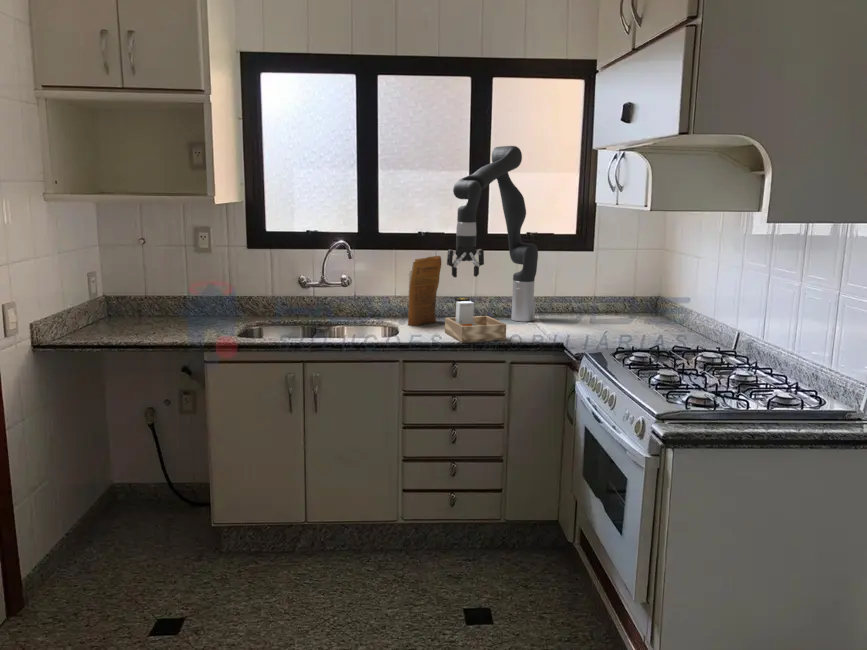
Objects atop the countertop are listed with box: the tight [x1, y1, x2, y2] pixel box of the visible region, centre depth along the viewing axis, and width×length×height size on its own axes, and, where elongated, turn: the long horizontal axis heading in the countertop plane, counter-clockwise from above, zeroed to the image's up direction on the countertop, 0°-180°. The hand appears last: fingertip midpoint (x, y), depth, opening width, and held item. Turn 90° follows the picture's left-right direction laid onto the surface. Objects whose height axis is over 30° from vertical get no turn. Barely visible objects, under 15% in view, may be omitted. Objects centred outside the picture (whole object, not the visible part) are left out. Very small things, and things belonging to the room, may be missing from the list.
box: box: [444, 315, 507, 344], centre depth 279 cm, size 18×18×6 cm
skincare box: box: [455, 300, 475, 326], centre depth 280 cm, size 6×4×12 cm
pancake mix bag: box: [407, 255, 442, 327], centre depth 300 cm, size 7×19×28 cm, turn 135°
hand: (465, 276), depth 277 cm, fingers open, 8 cm apart
